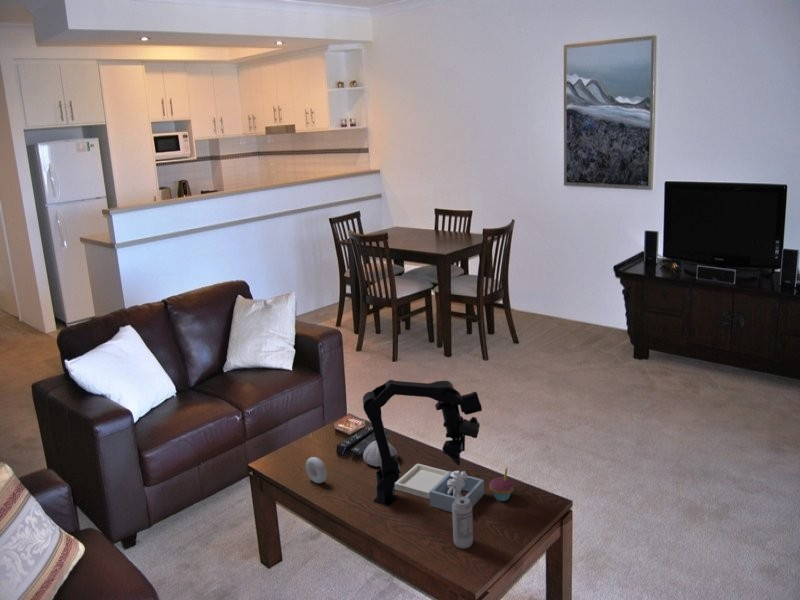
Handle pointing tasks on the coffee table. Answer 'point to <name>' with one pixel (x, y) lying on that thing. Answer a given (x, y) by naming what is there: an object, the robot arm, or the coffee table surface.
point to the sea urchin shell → (375, 454)
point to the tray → (420, 480)
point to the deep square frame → (445, 501)
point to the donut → (321, 471)
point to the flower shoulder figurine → (456, 483)
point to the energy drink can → (462, 522)
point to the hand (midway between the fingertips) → (461, 457)
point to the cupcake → (502, 487)
